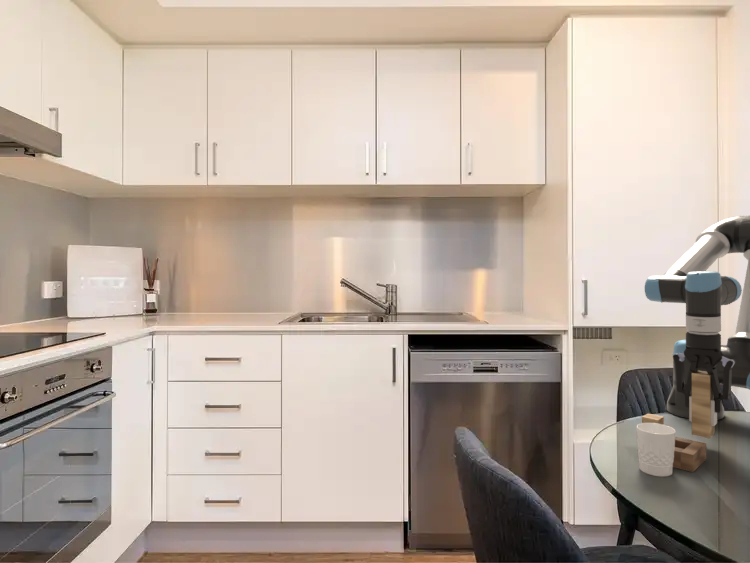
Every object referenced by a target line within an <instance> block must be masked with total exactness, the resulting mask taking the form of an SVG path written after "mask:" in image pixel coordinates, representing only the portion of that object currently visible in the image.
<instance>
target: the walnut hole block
mask: <svg viewBox="0 0 750 563" xmlns="http://www.w3.org/2000/svg"><path fill="white" fill-rule="evenodd" d="M706 460H707V443H705V442H701V441H698V440H697V441H696V440H693V439H688V438H685V437H679V436H675V451H674V462H673V468H676V469H680V470H683V471H686V472H687V471H688V472H691V473H694V472H695V471H696V470H697V469H698V468H699V467H701V465H702V464H703V463H704V462H705V461H706Z"/></svg>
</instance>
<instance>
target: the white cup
mask: <svg viewBox="0 0 750 563" xmlns="http://www.w3.org/2000/svg"><path fill="white" fill-rule="evenodd" d="M675 437H676V429H675V428H674V427H672V426H669V425H666V424H664V425H663V424H658V423H642V422H641V423H640V422H639V423H638V424H636V440H637V442H636V443H637V453H638V454H637V456H638V467H639V470H640V471H641V472H643V473H644V474H647V475H651V476H654V477H669V476H672V475H673V468H674V467H673V462H674V451H675Z"/></svg>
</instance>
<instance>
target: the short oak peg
mask: <svg viewBox="0 0 750 563" xmlns="http://www.w3.org/2000/svg"><path fill="white" fill-rule="evenodd" d="M641 423H658V424H663V425H665V416H662V415H658V414H652V413H646V414H644V415H643V416H641Z"/></svg>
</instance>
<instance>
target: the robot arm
mask: <svg viewBox="0 0 750 563" xmlns="http://www.w3.org/2000/svg"><path fill="white" fill-rule="evenodd" d="M739 253H741V254H743V257H744V258H745V259H746V260H747V266H746V271H745V272H746V273H745V278H744V283H743V289H742V285H741V283H740V282H739V281H738V280H737V279H736V278H734V277H732V276H728V275H722V274H721V273H720V272H718V271H714V270H713V271H711V270H708V269H710V267H711V266H712V265H713V264H714V263H715V262H716V260H718V259H720V258H721V259H722V258H723V257H725V256H726V255H727V254H739ZM707 270H708V271H707ZM644 295H645V297H646V298H647V300H649V301H651V302H658V303H662V304H663V303H674V304H675V303H676V304H685V330H686V331H687V332H685V339H681V340H677V341H676V342H675V343H674V345H673V354H672V359H673V361H672V363H673V364H672V367H673V368H672V369H673V370H672V372H673V375H672V378H673V381H672V384H673V386H672V388H671V391H670V393H669V395H668V399H667V401H666V410H667V412H668V413H670V414H671V415H675V416H677V417H681V418H686V419H688V420H689V421H688V422H691V423H692V373H696V372H697V371H706V372H707V373H708V375H711V388H712V392H713V396H714V398H713V399H711V426H714V427H715V426H716V425H717V424H718V420H721V419H724V418H725V408H724V406H723V400H728V399H729V398H730V397H731V395H732V387H735V388H741V389H747V390H750V215H738V216H732V217H728V218H724V219H723V220H720V221H718V222H716V223H713V224H712V225H710V226H709V227H707V228H705V229H704V230H702V232H701V233H700V234H699V235H697V237H696V239H695V243H694V244H693V246H691V247H690V248H689V249H688V250H687V251H686V252H685V253H684V254H683V255H682V256H680V258H679V259H678V260H677V261H676V262H675V263H674V264H673V265H672V266H671V267H670V268H669V269H668V270H667V271H666V272H665V273H664V274H663V275H659V274H658V275H651V276H649V277H647V278H646V280H645V283H644ZM740 297H741V301H740V305H739V310H738V311H739V312H738V316H737V320H736V321H737V322H736V326H735V328H736V329H735V333H734V334H733V335H731V336H729V337H728V338H727V343H726V345H725V344H722V337H721V336H722V335H721V333H720V332H721V331H722V324H721V323H722V317H721V316H722V314H721V313H722V306H727V305H731V304H732V303H734V302H736V301H738V300H739V299H740ZM721 385H722V389H721Z"/></svg>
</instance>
